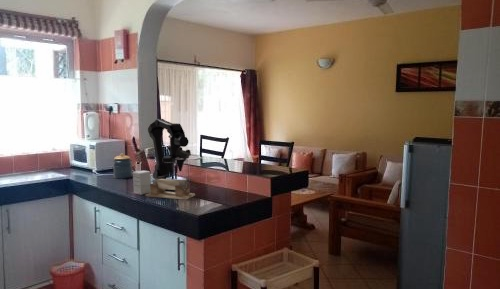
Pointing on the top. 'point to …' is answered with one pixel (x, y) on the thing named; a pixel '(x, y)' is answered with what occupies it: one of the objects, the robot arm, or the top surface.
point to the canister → (122, 167)
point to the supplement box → (142, 182)
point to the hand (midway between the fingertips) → (176, 172)
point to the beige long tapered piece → (175, 195)
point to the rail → (170, 183)
